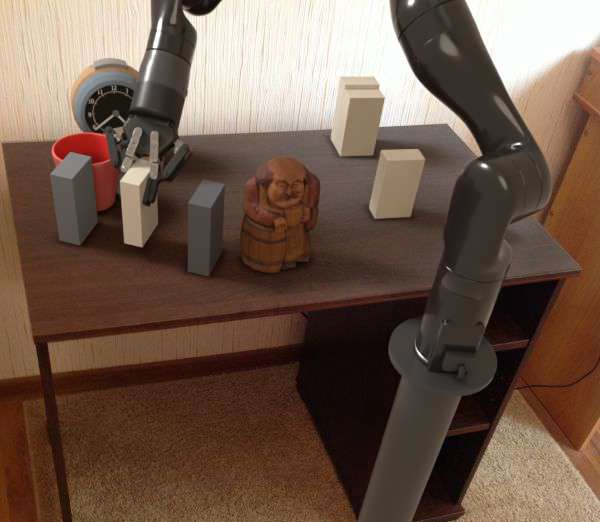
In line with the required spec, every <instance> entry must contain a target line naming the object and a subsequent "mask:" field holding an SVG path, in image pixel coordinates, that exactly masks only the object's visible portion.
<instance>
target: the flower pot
mask: <svg viewBox="0 0 600 522" xmlns="http://www.w3.org/2000/svg"><path fill="white" fill-rule="evenodd" d="M120 150H121V147H120ZM70 152H73V153H77V154H81V155H86V156H90V157H92V167H93V178H94V188H95V199H96V209H97V212H101V211H105V210H107V209H109V208H111V207H112V206H113V205H114V203H115V201H116V197H117V196H116V195H117V187H118V184H119V176H120V171H119V170H117V169H116V168H115V167H114V166H113V165H112V164H111V163H110V157H109V151H108V145H107V140H106V135H103V134H98V133H83V132H77V133H76V132H75V133H72V134H68V135H67V134H66V135H65V136H63V137H60V138H59V139H58V140H56V141H55V142H54V143H53V145H52V148H51V155H52V158H53V162H54V164H55V168H56V167H57V166H58V165H59V164H60V163H61V162H62V160H63V159H64V158H65V157H66V156H67V155H68V154H69V153H70Z"/></svg>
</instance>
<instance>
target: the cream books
mask: <svg viewBox="0 0 600 522" xmlns="http://www.w3.org/2000/svg"><path fill="white" fill-rule="evenodd" d="M380 86H381V85H380V82H378V80H377V78H376V77H375V76H339V80H338V87H337V95H336V100H335V105H334V106H335V107H334V113H333V120H332V127H331V133H330V141H331V143H332V144H333V146H334V148H335V149H336V151H337V154H338V155H339V157H369V156H370V157H371V156H374V153H375V149H376V143H377V139H378V133H379V129H380V124H381V118H382V115H383V109H384V105H385V100H386V96H385V95H384V94H383V93H382V91H381V90H380ZM425 163H426V158H425V157H424V155H423V154H422V152H421V151H420V149H419V148H412V149H411V148H406V149H403V148H402V149H400V148H399V149H381V150H380V153H379V158H378V163H377V168H376V171H375V172H376V173H375V177H374V182H373V186H372V191H371V196H370V201H369V206H368V209H369V211H370V213H371V214H372V217H373V218H374V219H375V220H380V219H394V218H395V219H397V218H411V216H412V214H413V213H412V212H413V209H414V205H415V201H416V197H417V193H418V190H419V185H420V183H421V178H422V174H423V172H424V171H423V170H424V166H425Z"/></svg>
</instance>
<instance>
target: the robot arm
mask: <svg viewBox="0 0 600 522" xmlns="http://www.w3.org/2000/svg"><path fill="white" fill-rule="evenodd" d="M222 2H223V0H150V30H149V33H148V38H147V42H146V47H145V51H144V54H143V58H142V60H141V62H140V65H139V69H138V72H139V73H138V77H137V81H136V85H135V90H134V94H133V98H132V102H131V107H130V111H129V117H128V119H127V120H126V122H125V123H124V125H123V127H118V128H112V127H110V126H108V127H106V128H105V134H106V140H107V145H108V151H109V157H110V163H111V164H112V165H113V166H114V167H115V168H116V169H117V170H119V178H118V183H117V190H116V195H118V198H119V199H120V200H121V189H120V180H121V179H122V178H123V177H124V175H125V174H126V173H127V171H128V170H129V169H130V168H131V166H132V165H133V164H134V162H136V161H137V160H139V159H141V158H142V157H149V158H150V178H149V179H147V183H146V187H145V192H144V196H143V200H142V203H143V204H144V205H145V206H148V207H150V205H151V203H152V204H153V203H154V202H155V200H156V196H157V197H158V191H159V187H160V185H161V183H165V182H168V183H171V182H173V181H174V180H175V179H176V177H177V176H178V175H179V173H180V171H181V170H182V169H183V168H184V167H185V165H186V164H187V162H188V161H189V160H190V158H191V157H192V156H193V150H192V148H191V147H190V146H189V145H188V143H184V142H183V141H181V140H180V137H179V128H180V124H181V119H182V116H183V111H184V107H185V103H186V98H187V97H188V93H189V85H190V77H191V70H192V65H193V61H194V57H195V53H196V48H197V43H198V32H197V29H196V27H195V26H194V25H193V24H192V22H191V21H190V20H189V18H188V17H187V16H186V14H185V13H187V14H188V15H191V16H193V17H205V16H208V15H210V14H211V13H212V12H214V11H215V10H216V8H218V6H219V5H220V4H221V3H222ZM388 3H389V5H388V6H389V13H390V20H391V24H392V29H393V31H394V34H395V36H396V39H397V42H398V43H399V45H400V48H401V51H402V52H403V54H404V57H405V59H406V61H407V63H408V65H409V67H410V69H411V71H412V73H413V74H414V76H415V78H416V79H417V80H418V82H419V83H420V84H421V85H422V86H423V87H424V88H425V89H426V90H427V91H428V92H429V93H430V94H431V95H432V96H433V97H435V98H436V99H437V100H438V101H439V102H441V103H442V104H443V106H445V107H447V108H448V109H449V110H450V111H451V112H453V114H455V116H456V117H457V118H459V119H460V120H461V121H462V123H463V124H464V125H465V126H466V128H467V129H468V130H469V132H470V133H471V135H472V137H473V139H474V140H475V142H476V144H477V147H478V148H479V150H480V153H481V155H480V156H476V157H474V158H472V159H470V160H469V161H468V162H466V163H465V164H464V165H463V167H462V168H461V170H460V172H459V173H458V175H457V177H456V180H455V182H454V185H453V189H452V193H451V196H450V201H449V204H448V208H447V213H446V217H445V221H444V226H443V235H442V236H443V244H444V245H443V246H444V247H443V250H442V252H441V253H442V254H441V257H440V261H439V263H438V267H437V269H436V273H435V276H434V279H433V282H432V285H431V287H430V288H431V289H430V291H429V295H428V298H427V302H426V305H425V308H424V311H423V315H422V316H423V317H422V320H421V324H420V327H419V331H418V334H417V336H416V338H415V341H414V345H413V348H414V352H415V355H416V356H417V358H418V359H419V360H420V361H421V362H422V363H423V364H424V365H426V367H427V370H428V371H429V372H441V373H455V374H458V375H457V376H456V380H457V381H461V380H462V379H464V376H465V374H468V372H476V371H477V368H478V366H479V364H480V361H481V359H480V355H479V352H477V349H478V346H479V344H480V341H481V339H482V336H484V334H485V331H486V328H487V326H488V323H489V321H490V317H491V315H492V313H493V311H494V308H495V305H496V303H497V300H498V297H499V294H500V293H501V290H502V288H503V285H504V283H505V280H506V278H507V276H508V273H509V270H510V268H511V265H512V263H513V259H514V251H513V248H512V246H511V245H510V243H509V241H507V240H506V238H505V237H506V233H507V232H508V231H507V230H508V228H509V226H510V225H512V224H515V223H517V222H520V221H522V220H524V219H526V218H528V217H531V216H534V215H535V214H537V213H539V212H541V211H542V210H543V209H544V208H545V207H546V206H547V205H548V204H549V201H550V200H551V199H550V198H551V197H552V191H553V179H552V177H553V176H552V172H551V169H550V166H549V162H548V160H547V158H546V157H545V155H544V153H543V151H542V149H541V147H540V145H539V144H538V142H537V140H536V139H535V137H534V135H533V133H532V131H531V130H530V129H529V127H528V125H527V124H526V122H525V120H524V119H523V117H522V116H521V115H522V114H521V113H520V111H519V110H518V109H517V106H516V105H515V104H514V102H513V99H512V98H511V96H510V94H509V92H508V90H507V87H506V86H505V84H504V82H503V79H502V77H501V76H500V74H499V71H498V69H497V67H496V65H495V63H494V61H493V59H492V57H491V55H490V53H489V51H488V49H487V47H486V44H485V42H484V40H483V38H482V35H481V31H480V30H479V27H478V25H477V24H478V23H477V22H476V20H475V18H474V16H473V14H472V11H471V9H470V6H469V5H468V3H467V0H388ZM124 135H125V136H126V138H127V141H128V143H129V146H128V148H127V151H126V153H125V159H124V161H122V156H121V150H120V144H119V143H121V142H122V140H123V136H124ZM172 149H174V150H173V153H174V154H173V156H172V158H171V159H170V160H169V161H168V163H167V165H166V166H165V167H164V165H165V164H164V163H165V156H166V155H167V154H168V153H169V152H170V151H171V150H172Z"/></svg>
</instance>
